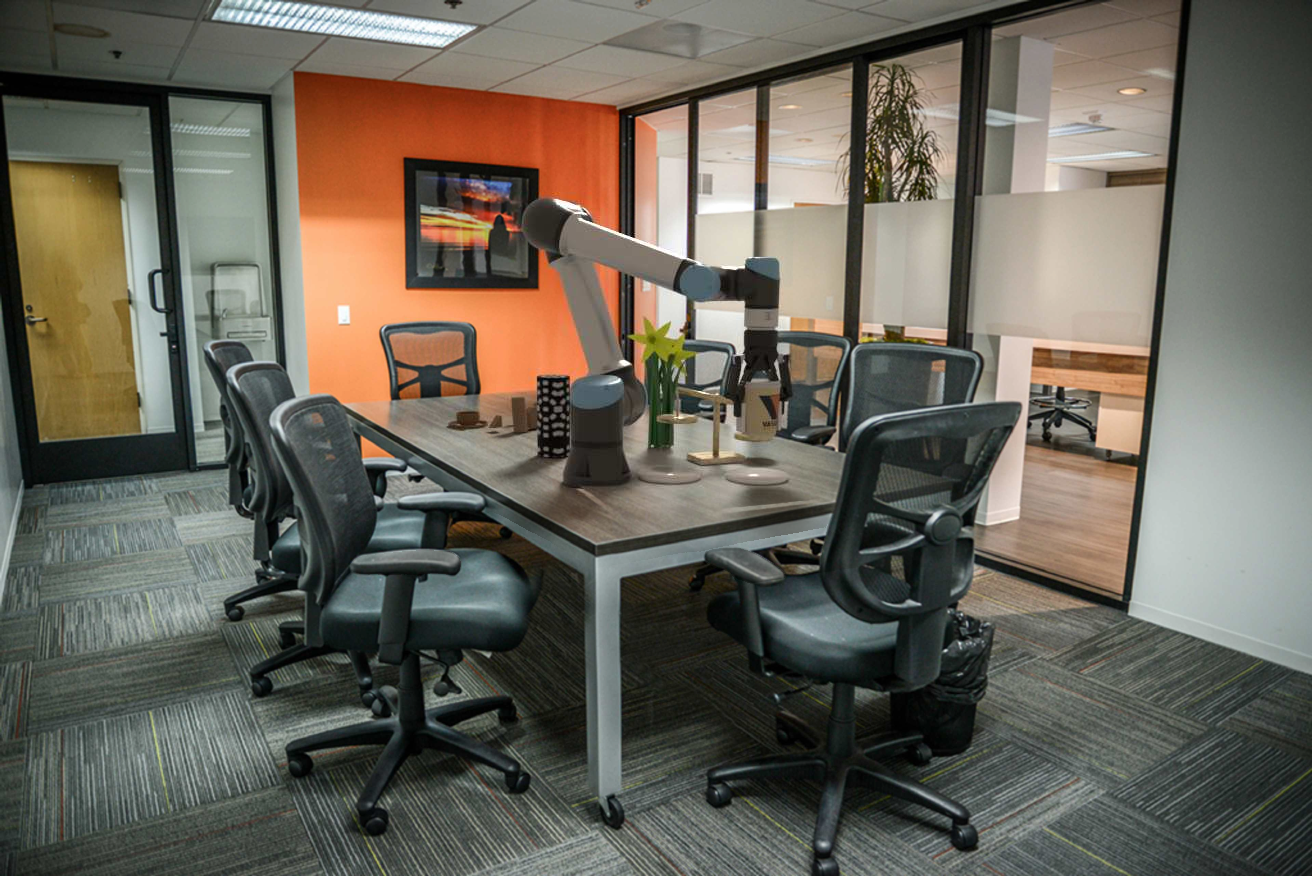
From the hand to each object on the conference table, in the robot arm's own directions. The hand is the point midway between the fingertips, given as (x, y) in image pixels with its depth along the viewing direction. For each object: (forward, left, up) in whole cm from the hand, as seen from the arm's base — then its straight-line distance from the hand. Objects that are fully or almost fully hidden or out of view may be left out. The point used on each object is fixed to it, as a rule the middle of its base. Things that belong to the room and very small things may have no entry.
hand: (758, 430), depth 200 cm
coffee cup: (0, 0, -1) cm, 1 cm away
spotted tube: (-34, +44, -11) cm, 57 cm away
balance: (+1, +22, -11) cm, 25 cm away
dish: (0, 0, -11) cm, 11 cm away
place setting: (-41, +95, -12) cm, 105 cm away
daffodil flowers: (-4, +43, -11) cm, 45 cm away
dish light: (-18, +8, -11) cm, 23 cm away
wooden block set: (-31, +84, -11) cm, 90 cm away
